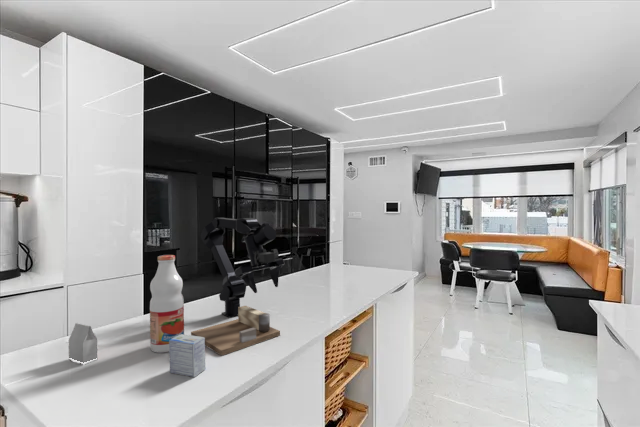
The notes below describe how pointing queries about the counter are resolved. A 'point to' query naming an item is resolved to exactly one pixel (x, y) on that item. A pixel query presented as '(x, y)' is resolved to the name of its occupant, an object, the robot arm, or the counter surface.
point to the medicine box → (187, 355)
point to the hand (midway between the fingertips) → (266, 289)
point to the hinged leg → (254, 318)
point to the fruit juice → (166, 305)
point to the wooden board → (233, 336)
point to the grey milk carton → (82, 343)
